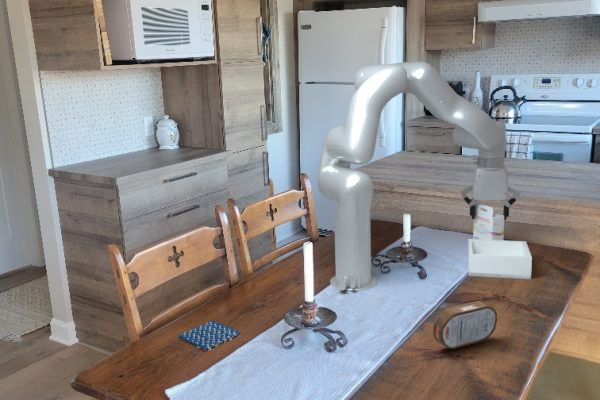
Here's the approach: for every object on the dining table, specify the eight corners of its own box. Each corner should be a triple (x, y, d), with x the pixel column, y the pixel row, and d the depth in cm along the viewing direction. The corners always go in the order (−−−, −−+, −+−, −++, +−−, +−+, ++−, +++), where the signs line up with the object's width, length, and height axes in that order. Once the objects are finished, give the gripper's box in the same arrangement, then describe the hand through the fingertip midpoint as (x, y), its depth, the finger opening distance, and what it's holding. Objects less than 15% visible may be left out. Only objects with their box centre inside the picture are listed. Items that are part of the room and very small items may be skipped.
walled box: (530, 279, 153) (532, 257, 152) (468, 275, 158) (469, 254, 156) (524, 261, 168) (526, 241, 166) (467, 258, 172) (468, 239, 170)
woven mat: (175, 343, 125) (174, 335, 125) (213, 326, 133) (212, 318, 133) (205, 358, 119) (204, 349, 118) (243, 339, 126) (242, 331, 126)
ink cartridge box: (503, 253, 175) (506, 206, 172) (491, 255, 173) (493, 208, 170) (484, 245, 183) (485, 200, 180) (471, 248, 181) (473, 202, 178)
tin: (488, 332, 124) (490, 296, 122) (499, 338, 121) (500, 301, 120) (431, 348, 118) (432, 310, 117) (440, 354, 116) (441, 315, 114)
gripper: (460, 164, 171) (459, 220, 175) (523, 165, 166) (520, 222, 170) (460, 160, 178) (459, 214, 182) (520, 160, 173) (517, 216, 177)
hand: (488, 218), depth 176 cm, fingers closed on ink cartridge box, 8 cm apart
